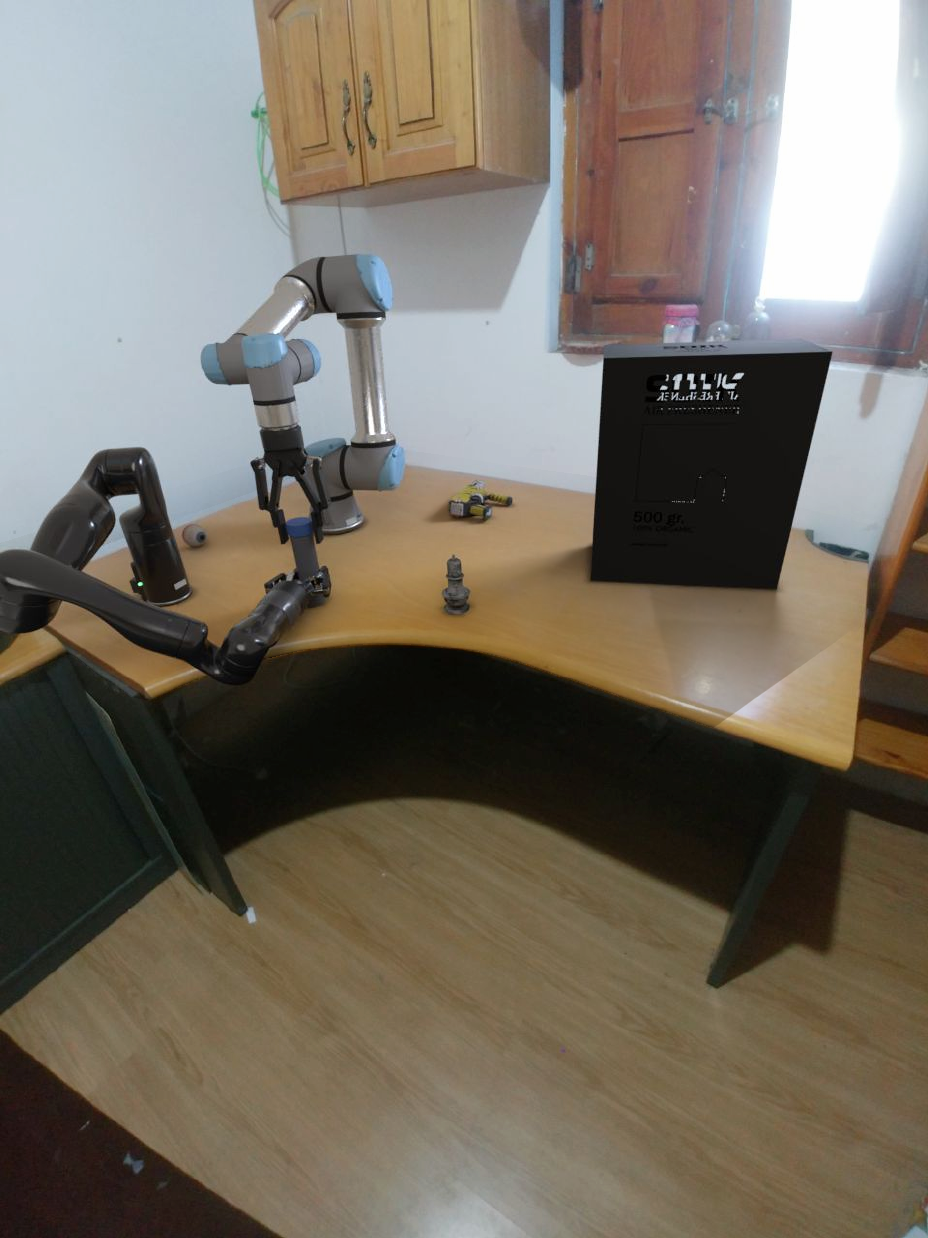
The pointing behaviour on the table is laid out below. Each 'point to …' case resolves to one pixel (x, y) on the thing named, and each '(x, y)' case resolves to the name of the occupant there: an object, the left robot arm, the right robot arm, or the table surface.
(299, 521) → the lid
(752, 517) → the cardboard box
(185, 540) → the eyeball
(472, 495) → the toy gun
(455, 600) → the dark grey chess piece
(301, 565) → the dark gray cylinder
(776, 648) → the table surface
